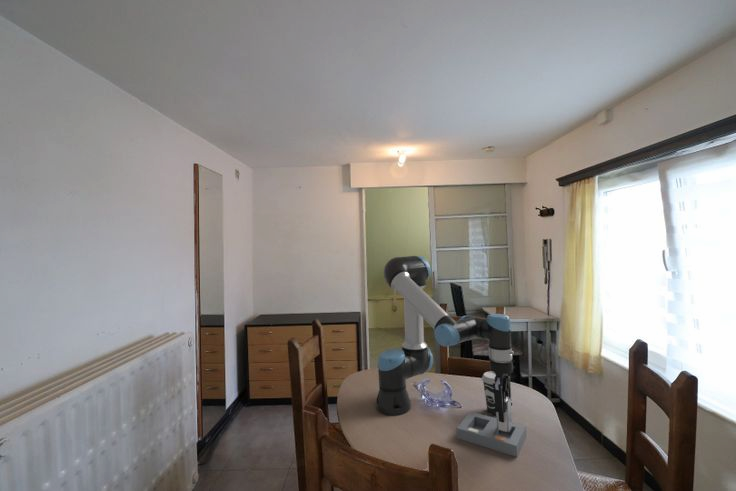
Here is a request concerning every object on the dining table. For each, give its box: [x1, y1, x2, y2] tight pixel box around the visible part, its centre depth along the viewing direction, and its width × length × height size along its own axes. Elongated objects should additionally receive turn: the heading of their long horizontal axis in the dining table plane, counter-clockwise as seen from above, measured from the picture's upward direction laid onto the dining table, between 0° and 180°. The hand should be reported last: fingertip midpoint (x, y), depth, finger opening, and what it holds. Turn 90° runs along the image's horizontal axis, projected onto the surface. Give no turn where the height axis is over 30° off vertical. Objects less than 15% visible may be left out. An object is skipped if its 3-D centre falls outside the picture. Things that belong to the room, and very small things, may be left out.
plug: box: [495, 396, 513, 432], centre depth 115 cm, size 4×4×11 cm
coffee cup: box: [481, 370, 496, 416], centre depth 135 cm, size 10×10×15 cm
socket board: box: [456, 411, 528, 458], centre depth 118 cm, size 20×14×4 cm
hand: (504, 427), depth 115 cm, fingers closed on plug, 4 cm apart
